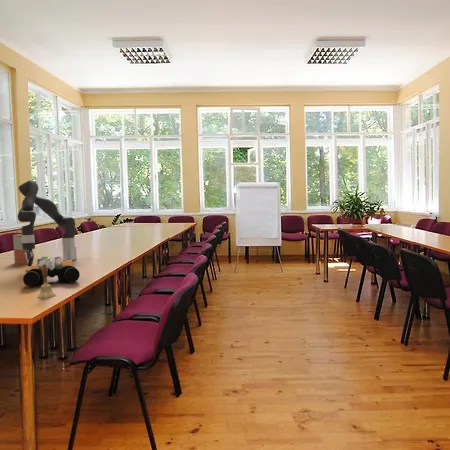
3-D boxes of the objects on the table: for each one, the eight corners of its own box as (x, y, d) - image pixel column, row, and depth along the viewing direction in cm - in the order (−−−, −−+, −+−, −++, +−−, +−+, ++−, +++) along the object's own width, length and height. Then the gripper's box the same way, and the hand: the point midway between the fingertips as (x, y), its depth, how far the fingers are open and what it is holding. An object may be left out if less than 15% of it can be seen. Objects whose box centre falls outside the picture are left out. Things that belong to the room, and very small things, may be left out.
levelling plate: (62, 265, 288) (61, 254, 287) (70, 268, 275) (69, 257, 274) (25, 270, 272) (24, 258, 272) (33, 274, 259) (32, 261, 259)
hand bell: (33, 297, 198) (31, 265, 197) (46, 293, 206) (44, 262, 204) (46, 298, 195) (44, 266, 194) (59, 294, 203) (57, 263, 202)
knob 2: (55, 267, 271) (55, 257, 270) (53, 266, 275) (52, 257, 274) (73, 265, 279) (72, 255, 278) (70, 264, 282) (70, 255, 282)
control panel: (19, 261, 311) (35, 262, 306) (12, 263, 304) (27, 264, 299) (17, 234, 309) (33, 234, 304) (10, 235, 303) (26, 235, 298)
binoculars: (23, 289, 216) (22, 270, 215) (25, 284, 234) (24, 267, 234) (80, 283, 227) (79, 265, 227) (78, 279, 246) (77, 262, 246)
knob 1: (41, 268, 271) (40, 258, 270) (46, 268, 268) (46, 258, 268) (26, 271, 260) (25, 261, 259) (31, 271, 258) (30, 261, 257)
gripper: (37, 242, 259) (39, 268, 260) (31, 240, 269) (33, 266, 270) (24, 243, 254) (26, 270, 255) (19, 241, 264) (21, 267, 265)
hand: (29, 268), depth 263 cm, fingers closed
